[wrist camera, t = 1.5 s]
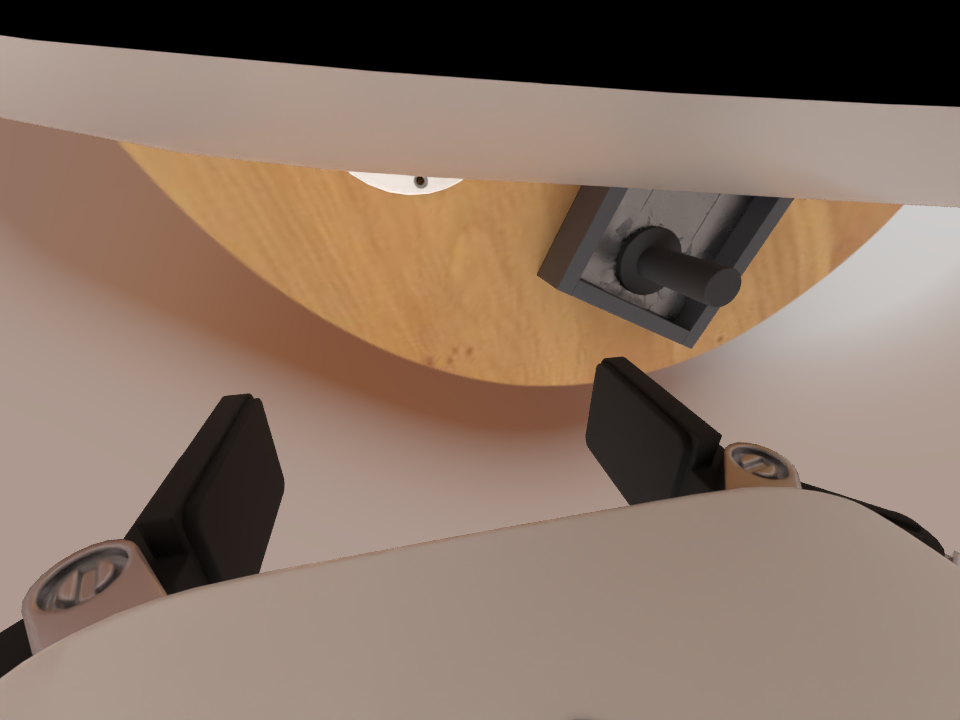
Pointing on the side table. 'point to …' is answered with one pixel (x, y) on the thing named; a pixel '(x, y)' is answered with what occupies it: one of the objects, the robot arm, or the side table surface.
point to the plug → (673, 269)
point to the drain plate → (685, 213)
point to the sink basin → (564, 275)
